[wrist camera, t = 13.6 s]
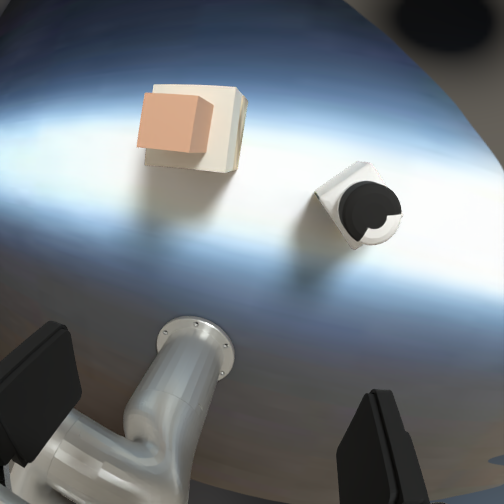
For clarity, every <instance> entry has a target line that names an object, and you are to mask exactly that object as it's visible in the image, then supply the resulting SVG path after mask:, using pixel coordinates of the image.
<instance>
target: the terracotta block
mask: <svg viewBox="0 0 504 504" xmlns="http://www.w3.org/2000/svg"><path fill="white" fill-rule="evenodd" d="M213 108H214V105H213V104H211V103H210V102H208V101H206V100H205V99H203V98H201V97H200V96H195V95H182V94H165V93H145V96H144V101H143V107H142V114H141V120H140V127H139V133H138V141H137V147H141V148H151V149H161V150H170V151H178V152H186V153H206V151H207V145H208V138H209V132H210V126H211V120H212V114H213Z"/></svg>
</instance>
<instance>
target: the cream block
mask: <svg viewBox="0 0 504 504" xmlns="http://www.w3.org/2000/svg"><path fill="white" fill-rule="evenodd" d="M153 93H165V94H182V95H195V96H200V97H201V98H203V99H205V100H206V101H208V102H210V103H211V104H213V105H214V108H213V114H212V120H211V126H210V132H209V138H208V145H207V151H206V153H186V152H178V151H170V150H161V149H151V148H146V154H145V165H148V166H161V167H172V168H183V169H193V170H203V171H212V172H221V173H227V172H230V171H233V163H234V155H235V147H236V139H237V131H238V123H239V116H240V108H241V101H242V94H241V93H240V91H239V90H238V89H237V88H236V87H226V86H209V85H170V84H164V85H154V86H153Z"/></svg>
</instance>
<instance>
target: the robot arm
mask: <svg viewBox="0 0 504 504" xmlns="http://www.w3.org/2000/svg"><path fill="white" fill-rule="evenodd" d="M197 322H198V323H197ZM157 350H158V354H157V356H156V358H155V359H154V361H153V362H152V364H151V366H150V367H149V369H148V370H147V372H146V374H145V375H144V377H143V379H142V380H141V382H140V383H139V385H138V387H137V388H136V390H135V392H134V393H133V395H132V396H131V398H130V400H129V402H128V403H127V405H126V407H125V411H124V415H123V426H124V433H125V437H126V438H125V437H123V436H120V435H118V434H116V433H114V432H112V431H111V430H109V429H107V428H105V427H104V426H102V425H100V424H99V423H97V422H95V421H94V420H92V419H90V418H89V417H87V416H85V415H84V414H82V413H80V412H79V411H77V410H75V409H74V408H73V407H74V406H75V405H76V404H77V402H78V401H79V400H80V398H81V394H82V389H81V385H80V380H79V376H78V371H77V366H76V361H75V356H74V351H73V345H72V339H71V334H70V332H69V331H68V329H67V327H66V326H65V325H63V324H60V323H57V322H55V321H48V322H47V323H46V324H44V325H43V326H42V327H41V328H39V329H38V330H37V331H36V332H35V333H33V334H32V335H31V336H30V337H29V338H27V339H26V340H25V341H24V342H23V343H21V344H20V345H19V346H18V347H17V348H16V349H14V350H13V351H12V352H11V353H10V354H9V355H7V356H6V357H5V358H4V359H3V360H2V361H0V504H76V503H78V504H187V503H188V496H189V484H190V475H191V468H192V462H193V458H194V454H195V450H196V447H197V443H198V440H199V437H200V434H201V431H202V427H203V424H204V421H205V418H206V415H207V412H208V409H209V406H210V402H211V399H212V396H213V393H214V390H215V387H216V384H217V381H219V380H221V379H222V378H224V377H225V376H226V375H227V374H228V373H229V372H230V370H231V369H232V366H233V363H234V358H235V351H234V347H233V344H232V342H231V340H230V338H229V337H228V335H227V334H226V333H225V332H224V331H223V330H222V329H221V328H220V327H219V326H217V325H216V324H214V323H213V322H211V321H208V320H206V319H204V318H200V317H196V316H182V317H178V318H174V319H173V320H171V321H169V322H168V323H167V324H165V325H164V327H163V328H162V329H161V331H160V333H159V335H158V338H157ZM11 459H12V460H13V461H14V462H15V464H14V466H13V469H12V472H11V475H10V474H9V466H8V463H9V461H10V460H11ZM336 459H337V471H338V483H339V497H340V504H446V503H443V502H434V503H430V501H429V498H428V494H427V490H426V487H425V483H424V479H423V476H422V472H421V469H420V466H419V462H418V459H417V456H416V452H415V449H414V446H413V443H412V440H411V437H410V435H409V433H408V432H406V431H405V429H404V426H403V423H402V420H401V417H400V414H399V411H398V408H397V405H396V402H395V399H394V396H393V393H392V391H390V390H378V389H373V390H371V392H370V393H369V394H368V393H366V394H365V395H364V397H363V399H362V401H361V403H360V405H359V407H358V409H357V411H356V413H355V415H354V417H353V419H352V421H351V423H350V425H349V427H348V429H347V431H346V433H345V435H344V437H343V439H342V441H341V443H340V444H339V446H338V449H337V454H336ZM63 495H64V496H66V497H67V498H66V497H64V496H63ZM68 498H69V499H71V500H72V501H71V500H69V499H68ZM73 501H74V502H76V503H74V502H73Z"/></svg>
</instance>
